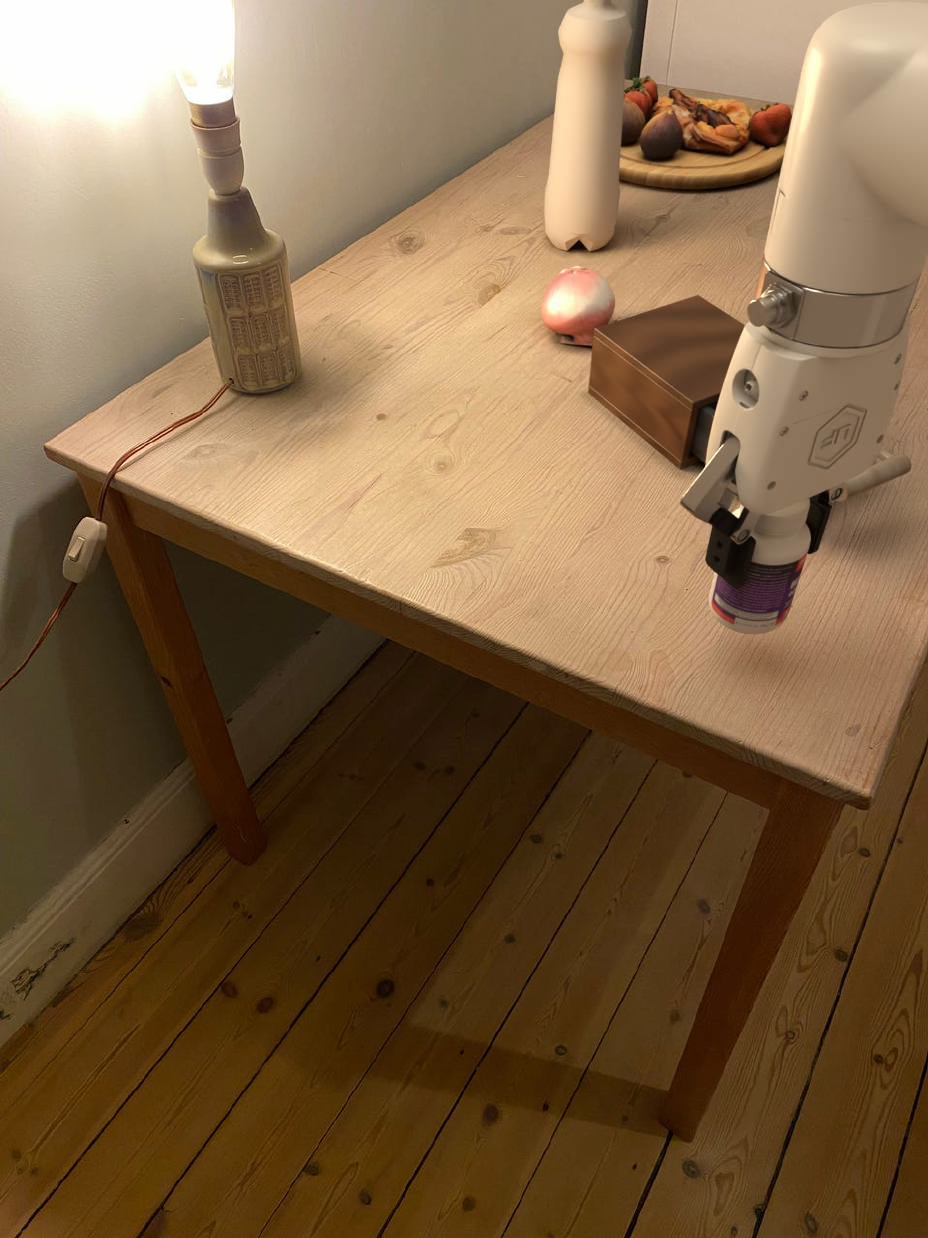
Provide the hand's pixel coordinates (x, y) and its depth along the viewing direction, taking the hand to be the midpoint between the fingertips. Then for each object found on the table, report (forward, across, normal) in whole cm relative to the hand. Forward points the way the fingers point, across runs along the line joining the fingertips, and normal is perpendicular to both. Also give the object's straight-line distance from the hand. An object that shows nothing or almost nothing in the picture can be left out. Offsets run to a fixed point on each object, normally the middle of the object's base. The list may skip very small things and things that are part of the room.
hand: (761, 555), depth 60 cm
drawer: (+10, +18, +14) cm, 25 cm away
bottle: (+10, +30, +64) cm, 71 cm away
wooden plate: (+9, +60, +81) cm, 101 cm away
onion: (+10, +17, +44) cm, 49 cm away
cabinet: (+10, +18, +28) cm, 34 cm away
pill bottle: (+5, 0, 0) cm, 5 cm away
